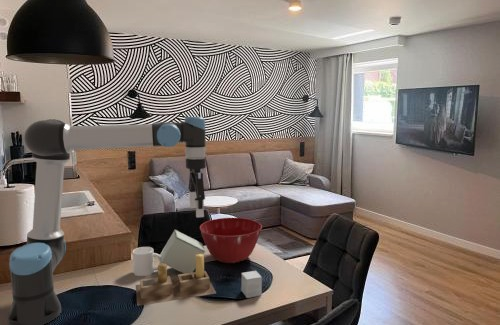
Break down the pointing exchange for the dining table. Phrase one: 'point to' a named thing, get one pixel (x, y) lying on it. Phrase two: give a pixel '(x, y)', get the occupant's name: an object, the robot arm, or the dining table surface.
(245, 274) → the skincare box
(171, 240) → the tray
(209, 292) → the brown wooden compartment tray
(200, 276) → the pin
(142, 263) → the mug
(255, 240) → the mixing bowl
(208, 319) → the dining table surface
